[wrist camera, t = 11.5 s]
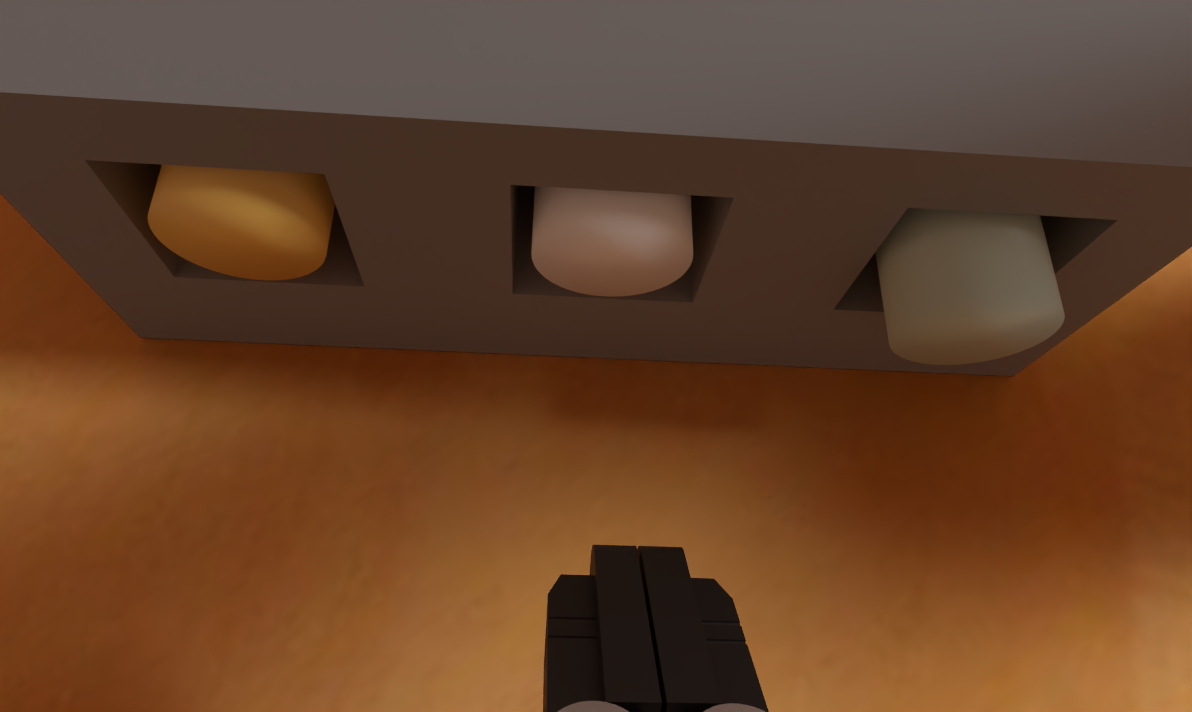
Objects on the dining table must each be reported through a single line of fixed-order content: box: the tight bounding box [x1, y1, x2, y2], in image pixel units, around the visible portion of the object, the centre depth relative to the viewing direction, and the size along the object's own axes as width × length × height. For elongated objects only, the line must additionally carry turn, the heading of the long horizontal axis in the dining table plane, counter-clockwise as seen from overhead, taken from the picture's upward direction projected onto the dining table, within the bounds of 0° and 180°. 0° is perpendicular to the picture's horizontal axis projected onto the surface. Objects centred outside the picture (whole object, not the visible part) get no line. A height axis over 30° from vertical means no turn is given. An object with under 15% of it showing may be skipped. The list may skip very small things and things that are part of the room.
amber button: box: [148, 165, 335, 280], centre depth 21 cm, size 4×6×4 cm, turn 0°
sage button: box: [875, 208, 1065, 365], centre depth 22 cm, size 4×6×4 cm, turn 0°
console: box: [0, 0, 1192, 376], centre depth 23 cm, size 28×8×11 cm, turn 89°
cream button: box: [531, 186, 693, 297], centre depth 22 cm, size 4×6×4 cm, turn 179°
